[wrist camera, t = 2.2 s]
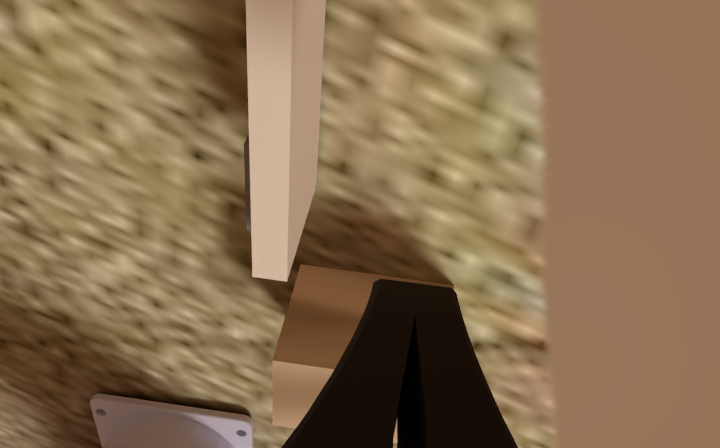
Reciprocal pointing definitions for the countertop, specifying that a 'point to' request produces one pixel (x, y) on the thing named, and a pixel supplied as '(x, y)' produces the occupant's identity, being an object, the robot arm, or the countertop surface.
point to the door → (281, 127)
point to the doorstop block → (318, 335)
